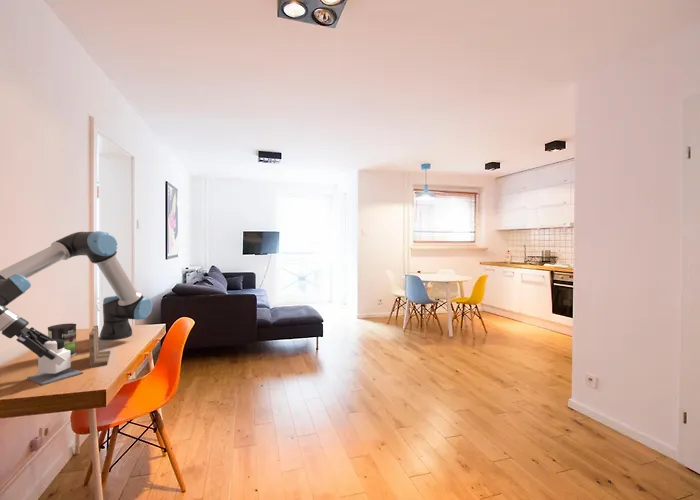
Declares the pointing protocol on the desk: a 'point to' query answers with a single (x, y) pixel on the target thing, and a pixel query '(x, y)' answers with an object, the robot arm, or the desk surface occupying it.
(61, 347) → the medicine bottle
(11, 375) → the desk surface
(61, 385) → the desk surface
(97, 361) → the walnut backboard
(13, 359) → the desk surface
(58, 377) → the charcoal mat
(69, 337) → the coffee can
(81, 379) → the desk surface
